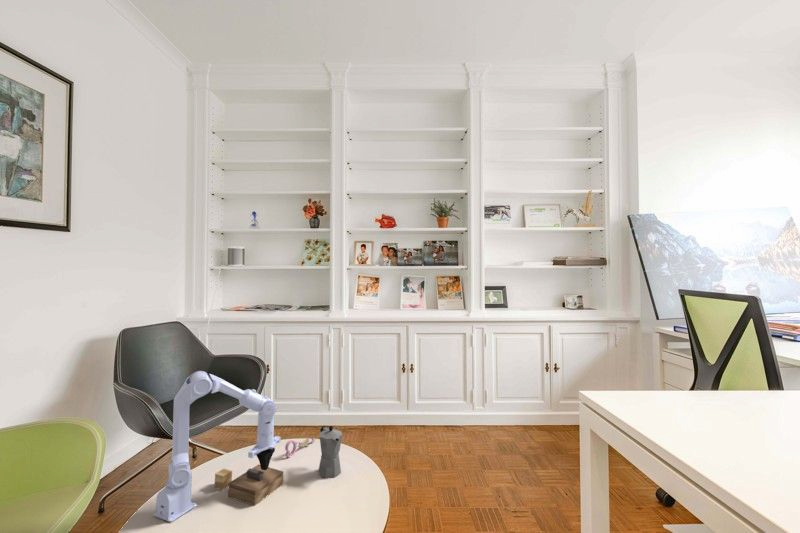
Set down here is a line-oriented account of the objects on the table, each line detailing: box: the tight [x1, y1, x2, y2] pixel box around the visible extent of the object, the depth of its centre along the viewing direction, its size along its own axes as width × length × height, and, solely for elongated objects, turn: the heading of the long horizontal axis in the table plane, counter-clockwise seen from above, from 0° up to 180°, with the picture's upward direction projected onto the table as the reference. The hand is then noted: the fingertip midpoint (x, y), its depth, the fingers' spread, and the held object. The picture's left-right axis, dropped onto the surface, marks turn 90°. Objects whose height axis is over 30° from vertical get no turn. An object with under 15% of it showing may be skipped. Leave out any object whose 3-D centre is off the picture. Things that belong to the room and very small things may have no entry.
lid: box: [228, 463, 284, 494], centre depth 133 cm, size 14×12×4 cm
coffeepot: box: [318, 425, 343, 479], centre depth 147 cm, size 15×9×18 cm, turn 36°
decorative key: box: [284, 437, 317, 458], centre depth 165 cm, size 7×1×20 cm
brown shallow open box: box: [227, 474, 284, 506], centre depth 133 cm, size 14×12×3 cm
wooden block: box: [214, 468, 233, 491], centre depth 135 cm, size 4×4×5 cm
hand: (264, 469), depth 137 cm, fingers closed
